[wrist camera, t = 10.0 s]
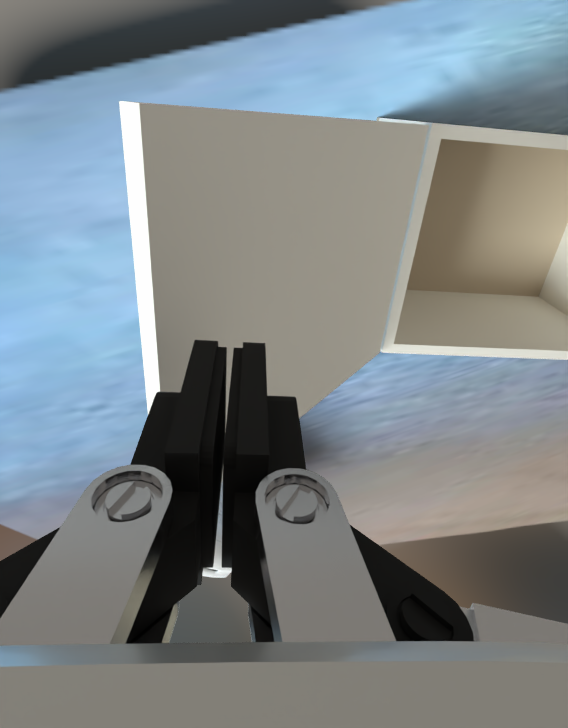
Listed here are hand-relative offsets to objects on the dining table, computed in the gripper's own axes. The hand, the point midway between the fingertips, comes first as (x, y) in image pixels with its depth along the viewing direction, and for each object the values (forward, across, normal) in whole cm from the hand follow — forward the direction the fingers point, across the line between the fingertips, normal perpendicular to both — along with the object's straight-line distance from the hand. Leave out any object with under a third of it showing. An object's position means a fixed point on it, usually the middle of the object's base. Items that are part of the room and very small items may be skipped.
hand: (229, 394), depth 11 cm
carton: (+24, -16, 0) cm, 29 cm away
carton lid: (+7, -3, 0) cm, 8 cm away
